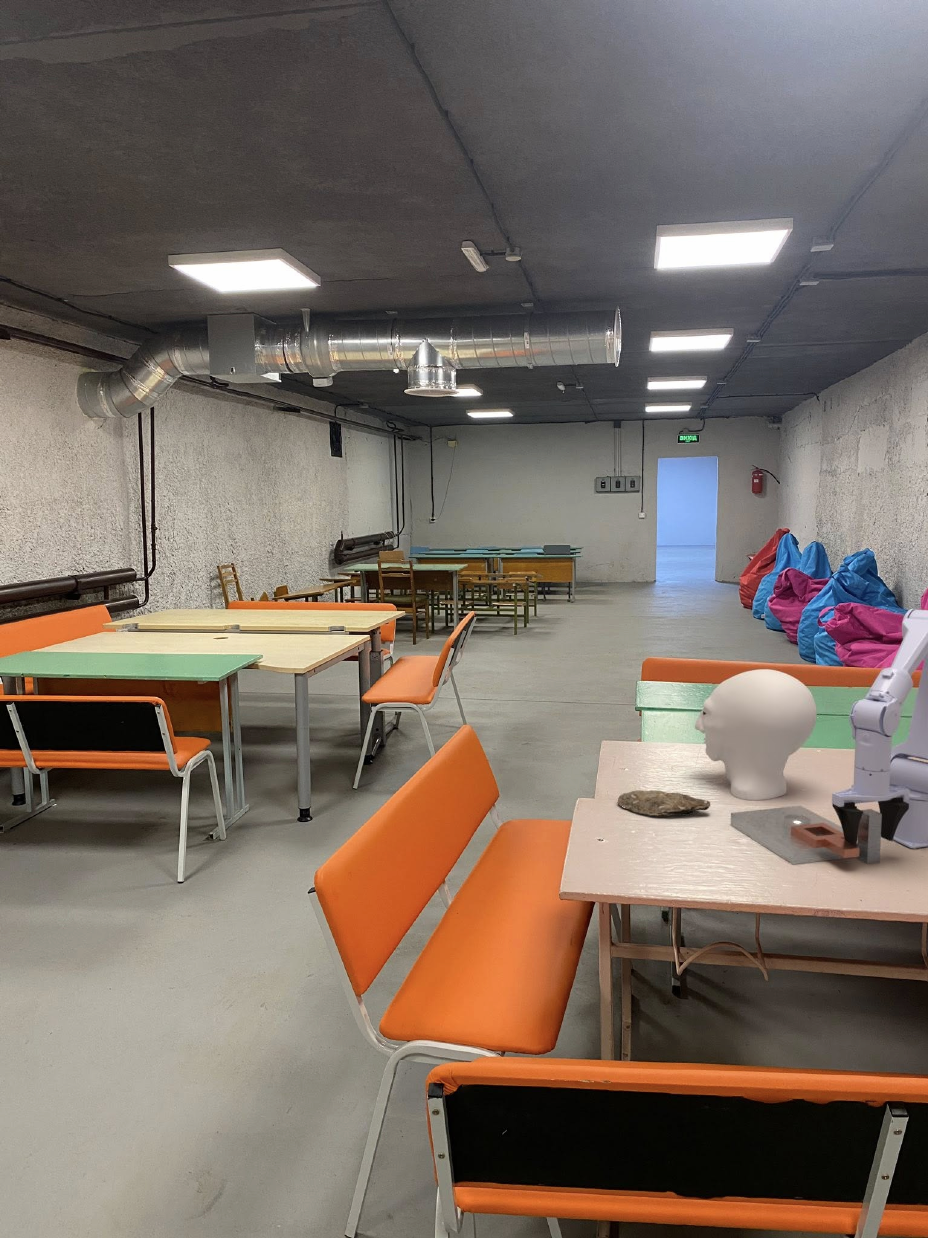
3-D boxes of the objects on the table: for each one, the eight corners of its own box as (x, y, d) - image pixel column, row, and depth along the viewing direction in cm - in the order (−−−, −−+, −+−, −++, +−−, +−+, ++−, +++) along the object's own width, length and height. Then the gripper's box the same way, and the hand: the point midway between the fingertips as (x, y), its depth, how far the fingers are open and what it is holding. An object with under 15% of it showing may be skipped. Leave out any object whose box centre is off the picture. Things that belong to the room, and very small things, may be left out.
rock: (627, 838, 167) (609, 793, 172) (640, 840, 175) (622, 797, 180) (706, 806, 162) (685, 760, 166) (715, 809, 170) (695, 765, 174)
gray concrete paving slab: (799, 817, 166) (800, 798, 165) (890, 866, 141) (891, 844, 141) (730, 825, 162) (731, 805, 161) (811, 876, 138) (811, 853, 137)
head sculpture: (802, 811, 169) (806, 680, 166) (679, 787, 186) (681, 668, 183) (823, 789, 183) (827, 668, 180) (707, 769, 199) (709, 658, 196)
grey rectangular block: (869, 857, 145) (871, 809, 144) (879, 862, 143) (881, 814, 142) (856, 858, 145) (858, 810, 144) (867, 864, 142) (869, 815, 141)
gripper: (890, 758, 147) (886, 829, 149) (821, 764, 144) (818, 836, 146) (920, 768, 141) (916, 843, 142) (848, 775, 137) (845, 851, 139)
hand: (868, 841), depth 143 cm, fingers open, 7 cm apart
